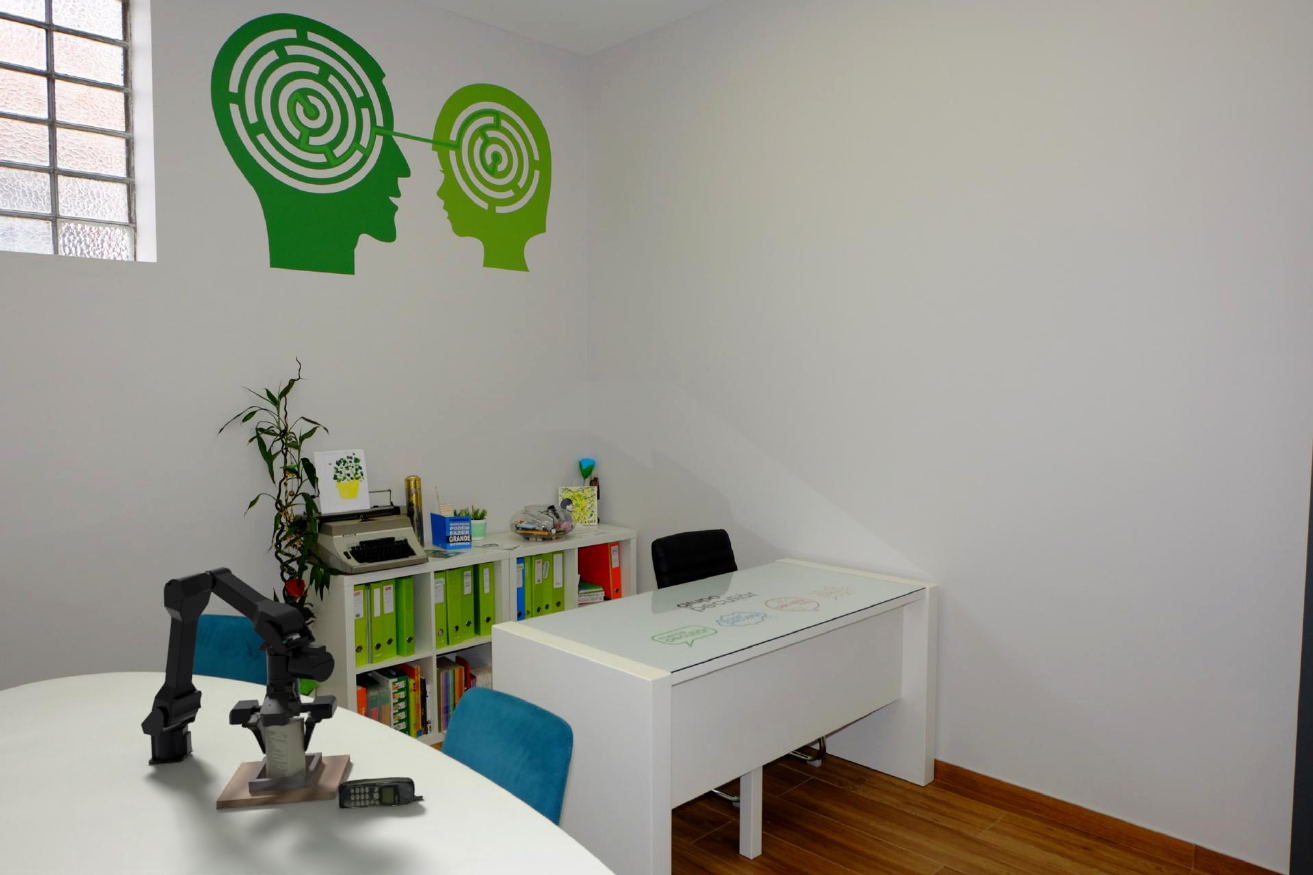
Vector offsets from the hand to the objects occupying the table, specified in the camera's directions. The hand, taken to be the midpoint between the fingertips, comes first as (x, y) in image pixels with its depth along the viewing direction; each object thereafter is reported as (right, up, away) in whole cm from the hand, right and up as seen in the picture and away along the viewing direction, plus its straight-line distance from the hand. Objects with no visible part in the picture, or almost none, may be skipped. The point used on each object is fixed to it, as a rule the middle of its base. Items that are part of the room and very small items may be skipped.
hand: (285, 751), depth 168 cm
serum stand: (0, -6, 0) cm, 6 cm away
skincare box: (0, -6, 0) cm, 6 cm away
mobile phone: (+21, -8, -7) cm, 23 cm away
